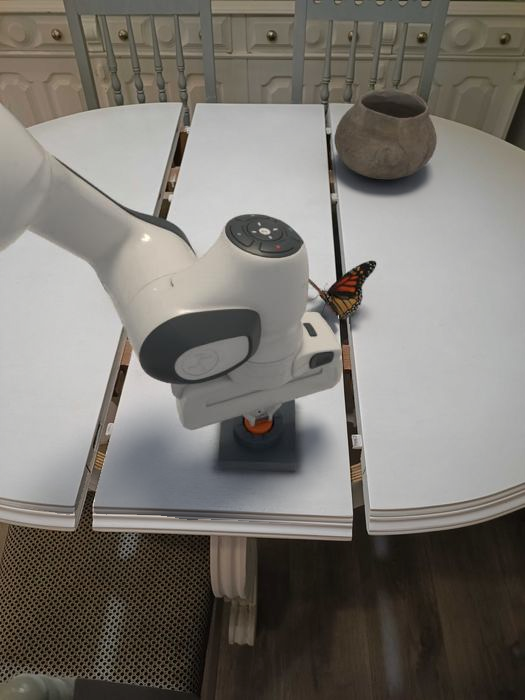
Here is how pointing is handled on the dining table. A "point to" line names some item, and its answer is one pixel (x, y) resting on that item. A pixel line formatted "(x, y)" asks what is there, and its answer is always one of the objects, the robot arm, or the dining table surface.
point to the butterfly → (346, 290)
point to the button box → (260, 443)
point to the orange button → (258, 428)
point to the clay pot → (386, 134)
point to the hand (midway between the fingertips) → (259, 419)
